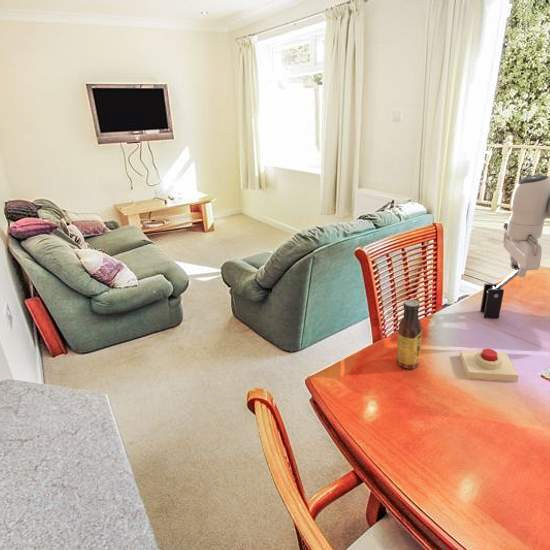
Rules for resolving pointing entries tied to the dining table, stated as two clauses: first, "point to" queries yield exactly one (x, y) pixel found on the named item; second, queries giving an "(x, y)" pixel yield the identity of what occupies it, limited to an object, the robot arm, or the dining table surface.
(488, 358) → the button
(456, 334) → the dining table surface
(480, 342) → the dining table surface
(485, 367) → the control block
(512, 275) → the lever
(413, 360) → the sauce bottle
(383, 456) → the dining table surface
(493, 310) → the bracket
